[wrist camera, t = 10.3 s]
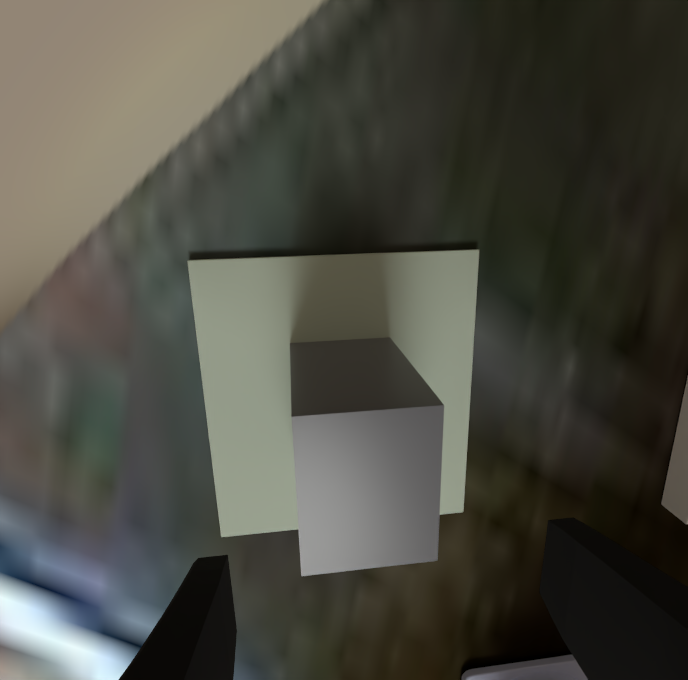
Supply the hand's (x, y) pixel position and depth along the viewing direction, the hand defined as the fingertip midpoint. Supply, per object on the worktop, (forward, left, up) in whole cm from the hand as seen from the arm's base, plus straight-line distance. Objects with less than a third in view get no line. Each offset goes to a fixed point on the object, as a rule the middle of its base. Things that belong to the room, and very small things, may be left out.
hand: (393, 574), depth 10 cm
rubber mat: (0, 0, -9) cm, 9 cm away
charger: (0, 0, -9) cm, 9 cm away
